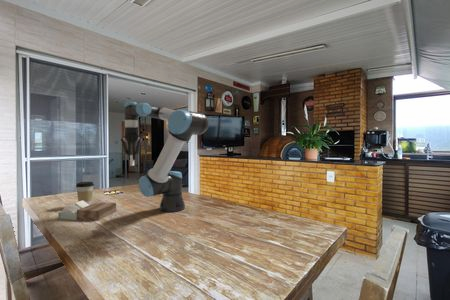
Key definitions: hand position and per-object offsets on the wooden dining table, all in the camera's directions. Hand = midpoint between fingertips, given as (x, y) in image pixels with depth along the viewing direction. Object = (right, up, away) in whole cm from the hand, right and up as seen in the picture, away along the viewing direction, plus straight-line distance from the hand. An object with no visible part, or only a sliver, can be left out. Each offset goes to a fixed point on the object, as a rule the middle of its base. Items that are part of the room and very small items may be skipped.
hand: (132, 165), depth 141 cm
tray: (-24, -27, -14) cm, 39 cm away
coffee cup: (-32, -26, +4) cm, 41 cm away
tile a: (-24, -22, -10) cm, 34 cm away
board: (-13, -27, -15) cm, 33 cm away
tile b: (-25, -22, -18) cm, 38 cm away
